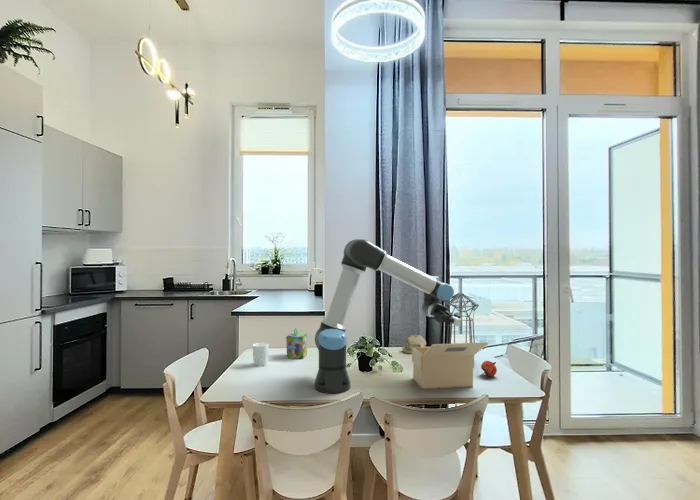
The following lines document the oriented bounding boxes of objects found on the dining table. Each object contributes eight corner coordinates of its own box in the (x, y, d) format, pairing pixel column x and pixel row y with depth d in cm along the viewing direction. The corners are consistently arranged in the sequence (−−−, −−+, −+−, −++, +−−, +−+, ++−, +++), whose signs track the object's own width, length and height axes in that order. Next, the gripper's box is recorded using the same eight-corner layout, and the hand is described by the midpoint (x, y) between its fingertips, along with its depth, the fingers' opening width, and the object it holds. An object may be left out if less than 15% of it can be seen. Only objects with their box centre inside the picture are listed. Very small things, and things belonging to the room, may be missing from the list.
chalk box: (302, 359, 217) (302, 331, 217) (286, 358, 218) (286, 330, 218) (307, 354, 226) (307, 327, 226) (291, 353, 227) (291, 326, 227)
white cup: (270, 365, 205) (270, 345, 205) (253, 367, 202) (253, 347, 202) (267, 361, 212) (267, 342, 212) (251, 363, 209) (251, 343, 209)
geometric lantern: (471, 355, 225) (471, 291, 224) (479, 363, 209) (480, 294, 208) (441, 355, 225) (442, 291, 224) (448, 363, 209) (448, 294, 209)
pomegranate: (486, 384, 185) (504, 370, 185) (476, 370, 186) (493, 357, 186) (482, 380, 192) (499, 367, 193) (472, 367, 193) (489, 354, 193)
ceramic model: (423, 348, 239) (423, 331, 239) (431, 354, 228) (431, 336, 228) (400, 350, 236) (400, 332, 236) (406, 355, 225) (406, 337, 225)
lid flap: (422, 355, 171) (422, 356, 171) (432, 344, 159) (432, 345, 158) (474, 353, 174) (474, 355, 174) (487, 342, 161) (488, 344, 161)
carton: (420, 389, 172) (420, 355, 172) (411, 378, 186) (411, 347, 186) (474, 387, 175) (474, 354, 175) (461, 376, 189) (461, 345, 189)
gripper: (452, 320, 187) (474, 332, 163) (424, 321, 185) (442, 332, 162) (452, 304, 187) (474, 313, 163) (424, 304, 185) (443, 313, 162)
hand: (458, 322), depth 163 cm, fingers closed
